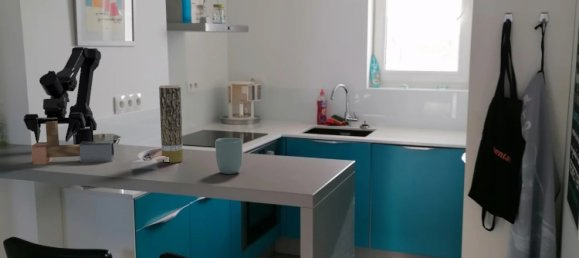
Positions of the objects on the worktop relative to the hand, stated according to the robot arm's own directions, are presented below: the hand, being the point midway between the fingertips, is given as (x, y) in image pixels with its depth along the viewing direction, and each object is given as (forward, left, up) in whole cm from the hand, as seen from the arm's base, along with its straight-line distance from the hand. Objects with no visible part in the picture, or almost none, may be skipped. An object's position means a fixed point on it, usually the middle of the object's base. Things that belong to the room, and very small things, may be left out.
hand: (51, 141), depth 190 cm
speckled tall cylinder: (-30, +26, -7) cm, 40 cm away
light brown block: (+2, -3, -7) cm, 8 cm away
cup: (-34, +53, -7) cm, 63 cm away
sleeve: (-12, +6, -7) cm, 16 cm away
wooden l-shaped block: (-4, +1, -5) cm, 7 cm away
